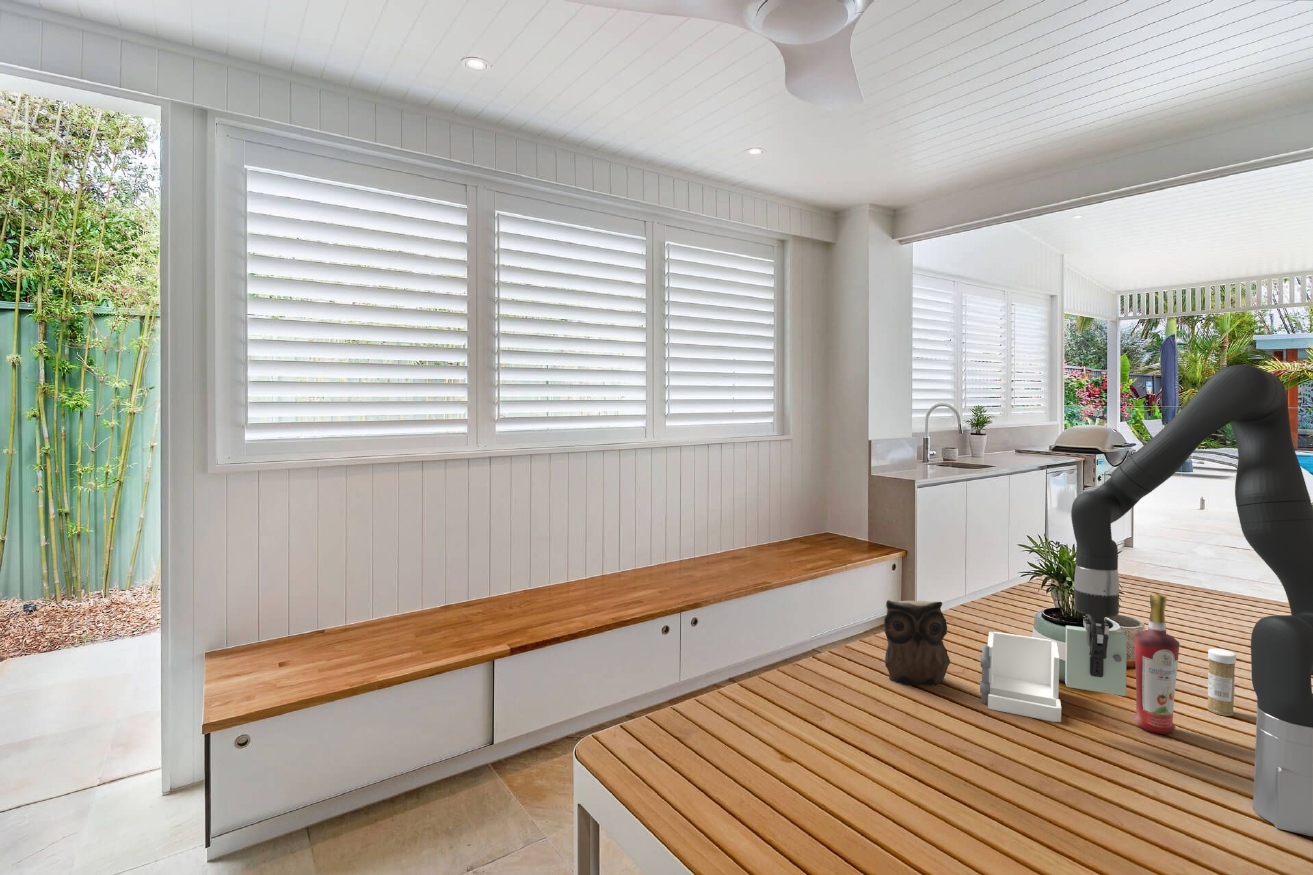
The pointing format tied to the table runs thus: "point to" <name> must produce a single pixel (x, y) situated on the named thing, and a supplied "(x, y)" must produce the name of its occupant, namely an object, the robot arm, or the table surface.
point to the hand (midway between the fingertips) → (1095, 673)
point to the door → (1080, 663)
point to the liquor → (1156, 671)
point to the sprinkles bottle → (1221, 682)
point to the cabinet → (1021, 676)
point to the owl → (915, 642)
